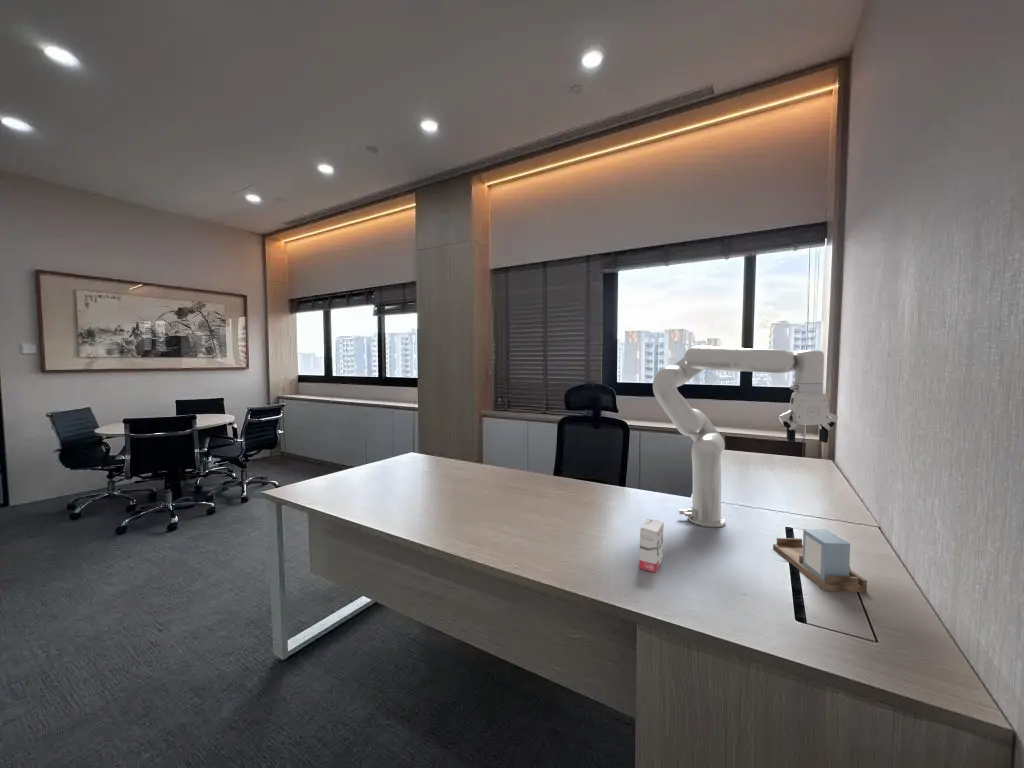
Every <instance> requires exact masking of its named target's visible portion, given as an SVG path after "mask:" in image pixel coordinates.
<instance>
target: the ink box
mask: <svg viewBox="0 0 1024 768" xmlns="http://www.w3.org/2000/svg"><path fill="white" fill-rule="evenodd" d="M664 527H665V526H664V522H663V521H660V520H655V519H646V520H645V521H644V523H643V524H642V525H641V526H640V529H639V536H640V537H639V555H638V556H639V558H638V559H639V560H638V569H640V570H643V571H648V572H651V571H652V573H657V571H658V570H659V567H660V565H661V564H662V563H663V558H664V557H663V553H664V552H663V550H664Z"/></svg>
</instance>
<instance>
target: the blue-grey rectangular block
mask: <svg viewBox="0 0 1024 768" xmlns="http://www.w3.org/2000/svg"><path fill="white" fill-rule="evenodd" d="M802 536H803V537H802V545H803V565H804V566H805V567H807V568H808V569H809V570H810V571H812V572H813V573H814V574H816V575H817V576H818V577H819V578H821V579H822V580H823V581H827V576H847V577H849V566H850V559H851V558H850V555H851V552H850V551H851V543H849V542H848V541H846V540H845V539H843V538H841V537H840V536H838V535H837V534H835V533H833V532H831V531H830V530H828V529H814V528H812V529H811V528H803V533H802Z"/></svg>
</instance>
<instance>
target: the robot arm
mask: <svg viewBox="0 0 1024 768" xmlns="http://www.w3.org/2000/svg"><path fill="white" fill-rule="evenodd" d="M824 364H825V355H824V352H823V351H822V350H818V349H816V350H815V349H814V350H813V349H812V350H811V349H810V350H808V349H807V350H799V351H798V350H797V351H792V350H791V351H790V350H784V349H767V348H766V349H763V348H760V349H759V348H744V347H738V346H716V345H715V346H714V345H713V346H712V345H693V346H690V347H689V348H687V350H685V353H684V356H683V357H682V358H681V359H680V360H678V361H677V362H676V363H674V364H673V365H666V366H663V367H662V368H660V369H659V370H658V371H657V372H656V374H655V376H654V378H653V382H652V391H653V395H654V397H655V399H656V402H658V404H659V405H660V407H661V408H662V409H663V411H664V413H666V415H667V416H668V418H669V419H670V420H671V422H672V424H673V425H674V426H675V428H676V429H677V430H678V432H679V433H680V434H682V435H683V436H685V437H686V436H687V437H690V438H691V440H692V441H693V443H692V446H691V462H692V500H691V501H692V504H691V505H690V506H689V508H687V509H686V508H685V509H684V508H679V509H678V514H679V515H684V516H685V517H687V519H689V520H690V521H691V522H690V521H689V520H688V521H689V522H690V523H692V522H693V523H692V524H694V523H695V525H697V524H698V526H700V525H701V527H705V526H706V528H721V527H724V526H726V523H727V521H726V518H724V517H723V516H722V455H723V453H724V451H725V447H726V443H725V440H724V438H723V437H722V435H721V433H720V432H719V431H718V430H717V429H716V427H715V426H714V424H713V423H712V422H711V421H710V419H709V418H708V417H707V416H706V414H704V412H702V411H701V410H699V409H697V408H692V407H691V405H690V404H689V403H688V402H687V400H686V398H685V397H684V396H683V395H682V394H681V393H680V392H679V390H678V388H679V387H681V386H684V385H685V384H686V383H688V382H689V381H690V380H692V379H693V378H694V377H696V376H697V375H699V374H700V373H701V372H702V371H704V370H706V371H722V372H735V373H736V372H737V373H738V372H750V373H752V372H754V373H767V374H768V373H769V374H785V373H791V372H794V383H793V385H790V387H789V389H790V390H793V392H792V393H791V397H790V401H789V405H788V406H789V407H788V410H787V411H786V412H783V413H782V414H780V415H778V419H779V421H780V423H781V425H782V426H783V427H784V428H785V429H786V439H787V441H788V442H789V443H796V429H795V428H796V427H797V426H799V425H802V426H803V425H804V426H806V425H807V426H811V425H812V426H819V427H820V428H819V431H818V433H819V434H818V435H819V436H818V440H819V442H821V443H825V444H827V443H828V440H829V435H830V434H829V431H830V430H831V429H832V428H833V427H834V426H835V424H836V422H837V421H838V419H839V416H838V415H836V414H834V413H832V412H830V407H829V401H828V396H827V393H826V392H825V393H824V374H825V373H824V369H825V365H824ZM787 418H788V420H789V421H787Z"/></svg>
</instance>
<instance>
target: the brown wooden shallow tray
mask: <svg viewBox="0 0 1024 768" xmlns="http://www.w3.org/2000/svg"><path fill="white" fill-rule="evenodd" d="M772 547H773V548H772V549H773V550H774V551H775V552H777V553H778V554H779V555H780V556H782V557H783V558H784V559H785V560H786V561H787V562H789V564H790V565H792V566H793V567H795V568H796V569H797V570H798V571H800V572H801V573H802V574H803V575H804V576H806V578H808V579H810V580H811V581H812V582H813V583H814V584H815V585H817V586H818V587H819V588H820V589H822V590H823V591H824V592H850V593H867V592H868V591H867V589H868V588H867V587H868V580H867V579H866V578H864V577H863V576H861V575H860V574H859V573H857V572H855V571H853V570H852V569H851V566H850V565H849V577H847V576H827V581H823V580H822V579H821V578H819V577H818V576H817V575H816V574H814V573H813V572H812V571H810V570H809V569H808V568H807V567H805V566H804V565H803V538H797V537H796V538H793V537H776V543H773V544H772Z"/></svg>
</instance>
